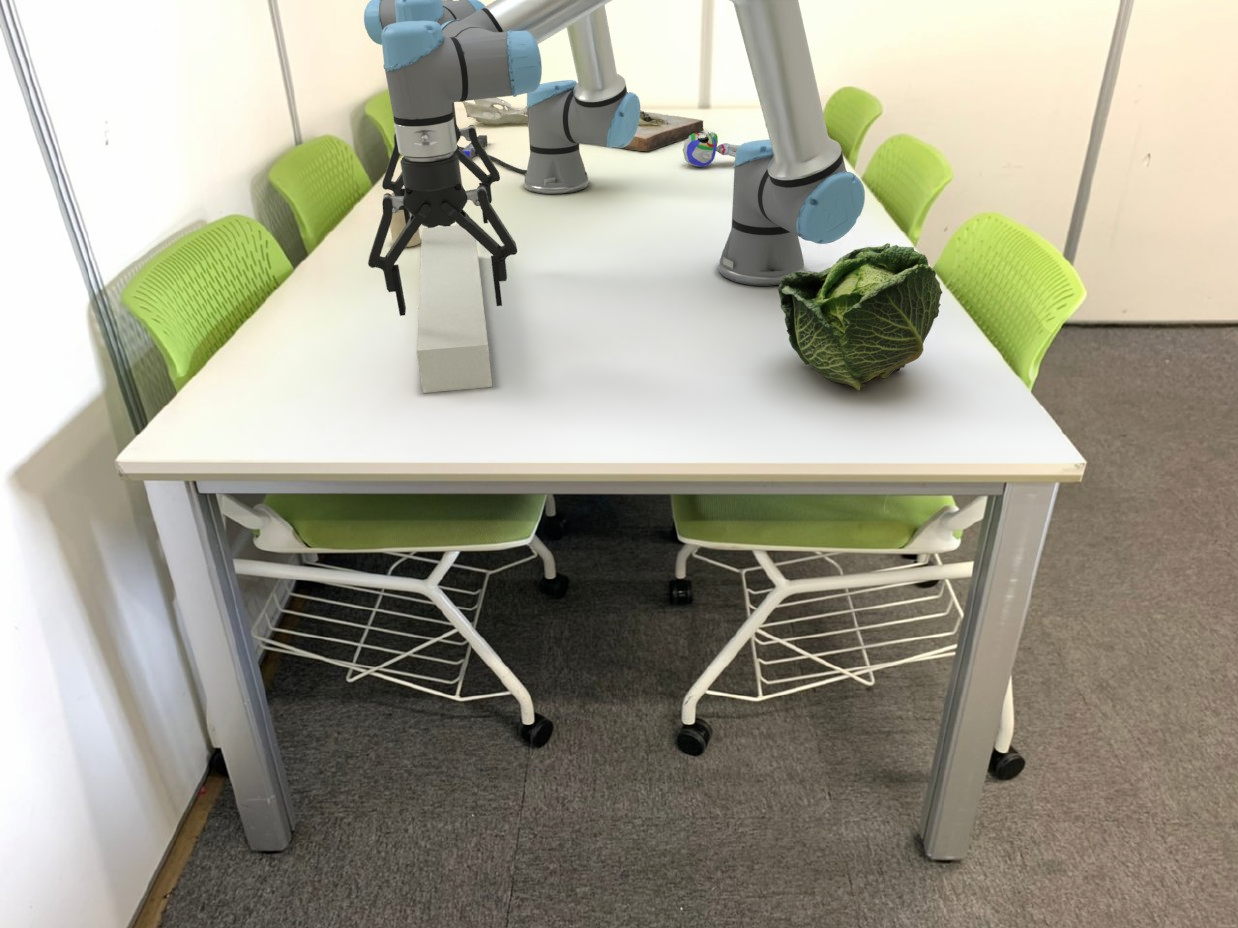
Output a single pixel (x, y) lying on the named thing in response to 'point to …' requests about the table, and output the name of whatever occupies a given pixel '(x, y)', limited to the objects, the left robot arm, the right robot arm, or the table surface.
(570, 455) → the table surface
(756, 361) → the table surface
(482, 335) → the slab
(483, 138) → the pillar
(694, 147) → the toy
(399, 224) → the candle
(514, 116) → the anatomical model
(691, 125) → the plaque
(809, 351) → the vegetable
